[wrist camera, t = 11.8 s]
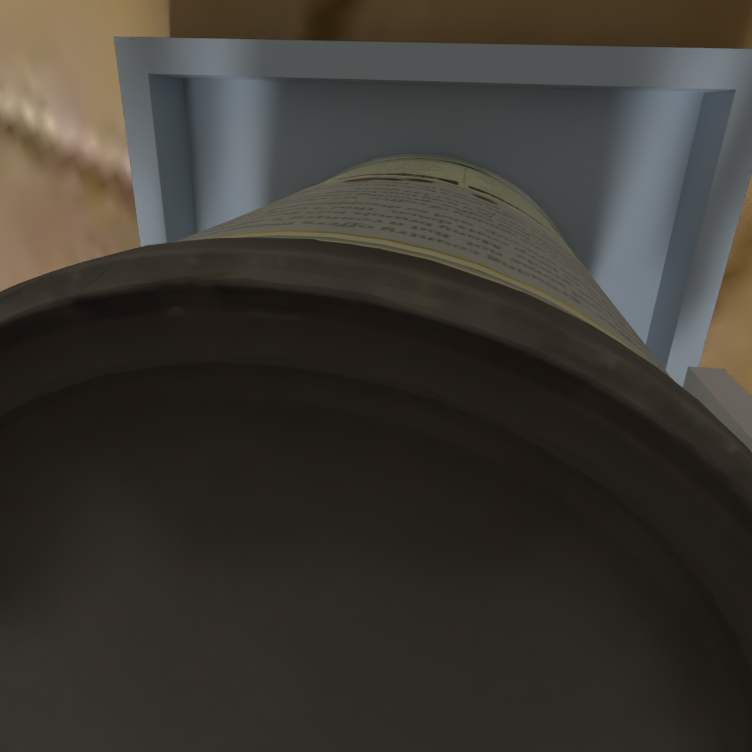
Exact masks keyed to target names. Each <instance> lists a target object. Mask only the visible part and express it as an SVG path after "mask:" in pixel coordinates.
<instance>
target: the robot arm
mask: <svg viewBox="0 0 752 752" xmlns="http://www.w3.org/2000/svg"><path fill="white" fill-rule="evenodd" d="M683 388H684V389H685V390H686V391H688V392H689V393H690V394H691V395H693V396H694V397H695V398H696V399H698V400H699V401H700V402H701V403H702V404H703V405H704V406H705V407H706V408H707V409H708V410H709V411H710V412H711V413H712V414H713V415H714V416H715V417H717V418H718V419H719V420H720V421H721V422H722V423H723V424H724V425H725V426H726V427H727V428H728V429H729V430H730V431H731V432H732V433H733V434H734V435H735V436H736V437H737V438H739V439H740V440H741V441H742V442H743V443H744V444H745V445H746V446H747V448H748V449H749V450H750V451H751V452H752V396H751V395H750V394H749V393H748V392H747V391H746V390H745V389H744V388H743V387H742V386H741V385H740V384H739V383H738V382H737V381H736V380H734V379H733V378H732V377H731V376H730V375H729V374H728V373H727V372H726V371H725V370H724V369H716V368H703V367H691V366H688V369H687V373H686V377H685V380H684V384H683Z"/></svg>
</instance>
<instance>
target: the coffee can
mask: <svg viewBox="0 0 752 752" xmlns="http://www.w3.org/2000/svg"><path fill="white" fill-rule="evenodd" d="M0 752H752V452H751V451H750V450H749V449H748V448H747V446H746V445H745V444H744V443H743V442H742V441H741V440H740V439H739V438H737V437H736V436H735V435H734V434H733V433H732V432H731V431H730V430H729V429H728V428H727V427H726V426H725V425H724V424H723V423H722V422H721V421H720V420H719V419H718V418H717V417H715V416H714V415H713V414H712V413H711V412H710V411H709V410H708V409H707V408H706V407H705V406H704V405H703V404H702V403H701V402H700V401H699V400H698V399H696V398H695V397H694V396H693V395H691V394H690V393H689V392H688V391H686V390H685V389H684V388H683V387H681V386H680V385H679V384H678V383H676V382H675V381H674V380H673V379H672V378H671V376H670V375H669V374H668V373H667V371H666V370H665V369H664V368H663V366H662V365H661V364H660V362H659V361H658V360H657V359H656V357H655V356H654V355H653V354H652V352H651V351H650V350H649V349H648V347H647V346H646V345H645V343H644V342H643V341H642V340H641V338H640V337H639V336H638V335H637V333H636V332H635V331H634V330H633V328H632V327H631V326H630V324H629V323H628V322H627V321H626V319H625V318H624V317H623V316H622V314H621V313H620V312H619V311H618V309H617V308H616V307H615V305H614V304H613V303H612V302H611V300H610V299H609V298H608V297H607V295H606V294H605V293H604V292H603V290H602V289H601V288H600V286H599V285H598V284H597V282H596V281H595V280H594V279H593V277H592V276H591V275H590V273H589V272H588V271H587V269H586V268H585V267H584V265H583V264H582V263H581V262H580V261H579V260H578V258H577V257H576V256H575V255H574V253H573V252H572V251H571V249H570V248H569V247H568V246H567V244H566V242H565V240H564V238H563V236H562V235H561V233H560V232H559V230H558V228H557V227H556V225H555V224H554V223H553V221H552V220H551V219H550V218H549V216H548V215H547V214H546V213H545V212H544V211H543V210H542V208H541V207H540V206H539V205H538V204H537V203H536V202H535V201H534V200H533V199H532V198H531V197H529V196H528V195H527V194H526V193H525V192H523V191H522V190H521V189H520V188H518V187H517V186H515V185H514V184H513V183H511V182H510V181H508V180H507V179H505V178H503V177H502V176H500V175H498V174H496V173H494V172H492V171H490V170H488V169H486V168H483V167H481V166H479V165H476V164H473V163H470V162H467V161H464V160H461V159H458V158H455V157H450V156H444V155H435V154H400V155H393V156H387V157H381V158H375V159H372V160H369V161H366V162H363V163H360V164H357V165H355V166H352V167H350V168H347V169H345V170H343V171H341V172H340V173H338V174H336V175H334V176H332V177H331V178H329V179H327V180H326V181H324V182H322V183H319V184H317V185H314V186H312V187H309V188H306V189H304V190H301V191H299V192H296V193H294V194H292V195H290V196H288V197H285V198H283V199H280V200H278V201H275V202H273V203H271V204H268V205H266V206H264V207H261V208H259V209H256V210H254V211H251V212H249V213H246V214H244V215H242V216H239V217H237V218H234V219H232V220H229V221H227V222H224V223H221V224H219V225H216V226H214V227H211V228H209V229H206V230H204V231H201V232H199V233H196V234H194V235H191V236H189V237H186V238H184V239H181V240H179V241H176V242H172V243H163V244H154V245H147V246H143V247H139V248H135V249H131V250H127V251H123V252H120V253H116V254H112V255H108V256H104V257H100V258H96V259H93V260H89V261H85V262H81V263H78V264H75V265H72V266H69V267H65V268H62V269H59V270H56V271H53V272H50V273H47V274H44V275H41V276H39V277H36V278H33V279H30V280H27V281H25V282H22V283H19V284H17V285H15V286H12V287H10V288H8V289H5V290H3V291H1V292H0Z"/></svg>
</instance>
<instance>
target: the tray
mask: <svg viewBox="0 0 752 752" xmlns="http://www.w3.org/2000/svg"><path fill="white" fill-rule="evenodd" d="M114 43H115V51H116V59H117V66H118V74H119V82H120V90H121V97H122V105H123V113H124V120H125V128H126V136H127V144H128V151H129V159H130V167H131V174H132V182H133V190H134V198H135V205H136V213H137V221H138V228H139V236H140V244H141V247H143V246H147V245H154V244H163V243H172V242H176V241H179V240H181V239H184V238H186V237H189V236H191V235H194V234H196V233H199V232H201V231H204V230H206V229H209V228H211V227H214V226H216V225H219V224H221V223H224V222H227V221H229V220H232V219H234V218H237V217H239V216H242V215H244V214H246V213H249V212H251V211H254V210H256V209H259V208H261V207H264V206H266V205H268V204H271V203H273V202H275V201H278V200H280V199H283V198H285V197H288V196H290V195H292V194H294V193H296V192H299V191H301V190H304V189H306V188H309V187H312V186H314V185H317V184H319V183H322V182H324V181H326V180H327V179H329V178H331V177H332V176H334V175H336V174H338V173H340V172H341V171H343V170H345V169H347V168H350V167H352V166H355V165H357V164H360V163H363V162H366V161H369V160H372V159H375V158H381V157H387V156H393V155H400V154H435V155H444V156H450V157H455V158H458V159H461V160H464V161H467V162H470V163H473V164H476V165H479V166H481V167H483V168H486V169H488V170H490V171H492V172H494V173H496V174H498V175H500V176H502V177H503V178H505V179H507V180H508V181H510V182H511V183H513V184H514V185H515V186H517V187H518V188H520V189H521V190H522V191H523V192H525V193H526V194H527V195H528V196H529V197H531V198H532V199H533V200H534V201H535V202H536V203H537V204H538V205H539V206H540V207H541V208H542V210H543V211H544V212H545V213H546V214H547V215H548V216H549V218H550V219H551V220H552V221H553V223H554V224H555V225H556V227H557V228H558V230H559V232H560V233H561V235H562V236H563V238H564V240H565V242H566V244H567V246H568V247H569V248H570V249H571V251H572V252H573V253H574V255H575V256H576V257H577V258H578V260H579V261H580V262H581V263H582V264H583V265H584V267H585V268H586V269H587V271H588V272H589V273H590V275H591V276H592V277H593V279H594V280H595V281H596V282H597V284H598V285H599V286H600V288H601V289H602V290H603V292H604V293H605V294H606V295H607V297H608V298H609V299H610V300H611V302H612V303H613V304H614V305H615V307H616V308H617V309H618V311H619V312H620V313H621V314H622V316H623V317H624V318H625V319H626V321H627V322H628V323H629V324H630V326H631V327H632V328H633V330H634V331H635V332H636V333H637V335H638V336H639V337H640V338H641V340H642V341H643V342H644V343H645V345H646V346H647V347H648V349H649V350H650V351H651V352H652V354H653V355H654V356H655V357H656V359H657V360H658V361H659V362H660V364H661V365H662V366H663V368H664V369H665V370H666V371H667V373H668V374H669V375H670V376H671V378H672V379H673V380H674V381H675V382H676V383H678V384H679V385H680V386H681V387H683V384H684V380H685V377H686V373H687V369H688V366H691V367H698V366H699V362H700V359H701V355H702V351H703V348H704V344H705V341H706V337H707V333H708V330H709V326H710V322H711V319H712V315H713V311H714V308H715V304H716V301H717V297H718V293H719V290H720V286H721V282H722V279H723V275H724V271H725V268H726V264H727V261H728V257H729V253H730V250H731V246H732V242H733V239H734V235H735V231H736V228H737V224H738V221H739V217H740V213H741V210H742V206H743V202H744V199H745V195H746V191H747V188H748V184H749V181H750V177H751V173H752V49H726V48H675V47H623V46H572V45H520V44H469V43H417V42H366V41H315V40H263V39H212V38H160V37H114Z"/></svg>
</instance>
